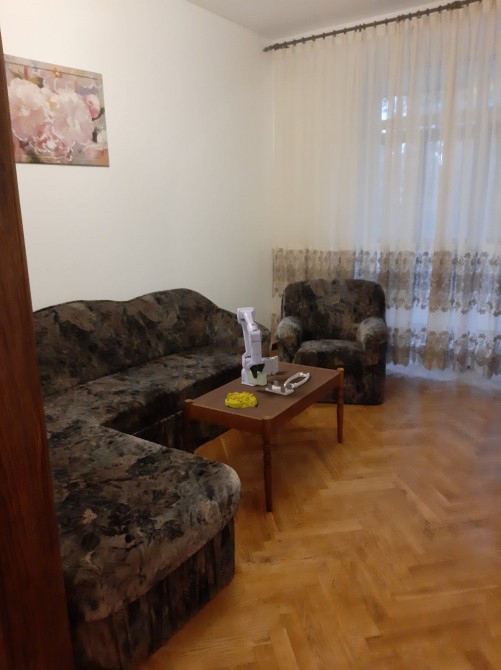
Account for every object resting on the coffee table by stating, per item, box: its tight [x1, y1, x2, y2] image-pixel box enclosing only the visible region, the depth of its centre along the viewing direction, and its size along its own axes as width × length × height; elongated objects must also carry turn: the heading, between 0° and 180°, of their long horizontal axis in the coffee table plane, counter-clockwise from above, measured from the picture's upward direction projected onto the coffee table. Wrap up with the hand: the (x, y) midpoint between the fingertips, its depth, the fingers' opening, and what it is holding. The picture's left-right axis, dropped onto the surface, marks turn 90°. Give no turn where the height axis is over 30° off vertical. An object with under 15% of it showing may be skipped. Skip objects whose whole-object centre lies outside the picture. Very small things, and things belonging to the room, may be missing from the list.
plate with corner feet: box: [265, 380, 295, 396], centre depth 271 cm, size 14×7×4 cm, turn 48°
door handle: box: [283, 371, 310, 390], centre depth 285 cm, size 3×10×25 cm
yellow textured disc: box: [224, 391, 258, 409], centre depth 257 cm, size 16×16×4 cm
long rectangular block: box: [249, 371, 268, 386], centre depth 270 cm, size 10×3×6 cm, turn 48°
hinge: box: [262, 355, 279, 376], centre depth 301 cm, size 14×5×10 cm, turn 105°
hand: (257, 377), depth 270 cm, fingers closed on long rectangular block, 3 cm apart
